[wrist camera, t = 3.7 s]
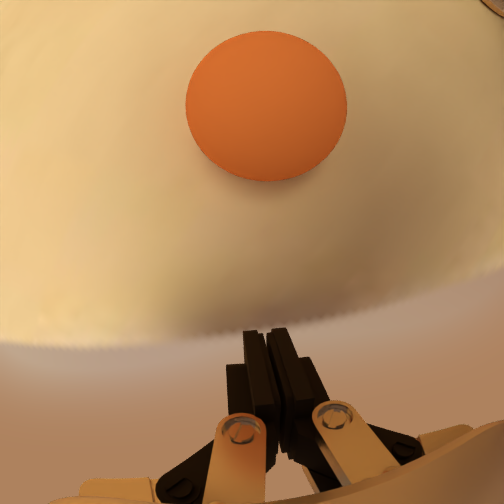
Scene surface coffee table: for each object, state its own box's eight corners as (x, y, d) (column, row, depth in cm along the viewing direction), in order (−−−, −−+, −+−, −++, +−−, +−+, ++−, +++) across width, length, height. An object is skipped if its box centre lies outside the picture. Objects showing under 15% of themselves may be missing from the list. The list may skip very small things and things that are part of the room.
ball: (314, 68, 11) (365, 17, 5) (318, 178, 12) (380, 187, 7) (195, 66, 10) (176, 4, 5) (196, 181, 12) (173, 190, 7)
